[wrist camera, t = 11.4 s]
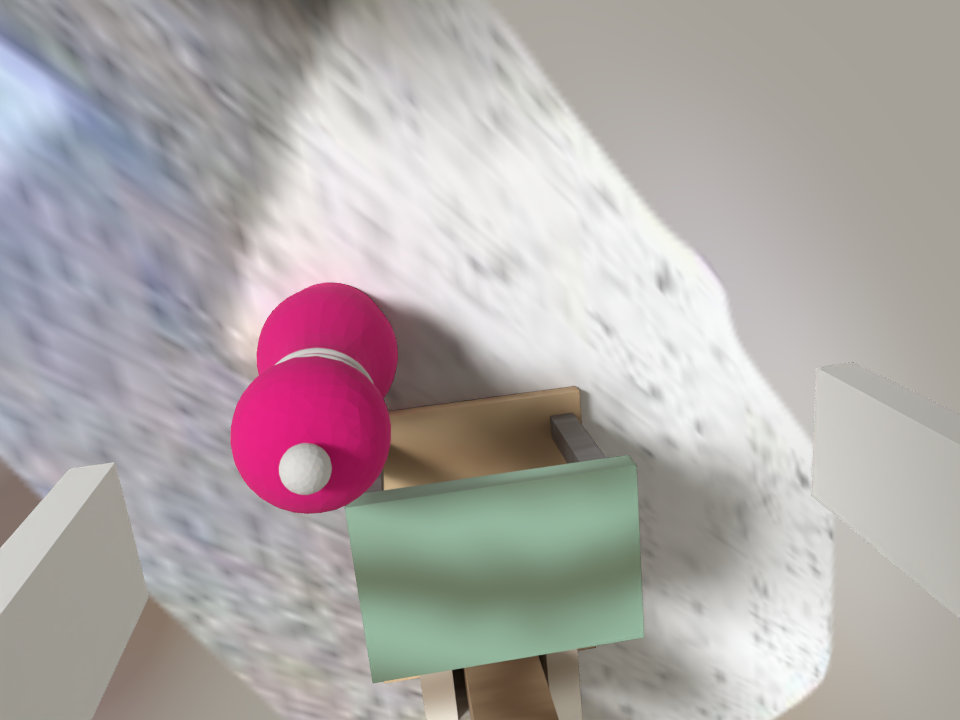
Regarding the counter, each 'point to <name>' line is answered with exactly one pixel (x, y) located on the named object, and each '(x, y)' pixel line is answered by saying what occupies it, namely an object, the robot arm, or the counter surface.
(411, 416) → the awning station
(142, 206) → the counter surface
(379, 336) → the pepper mill
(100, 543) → the robot arm
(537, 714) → the walnut peg
